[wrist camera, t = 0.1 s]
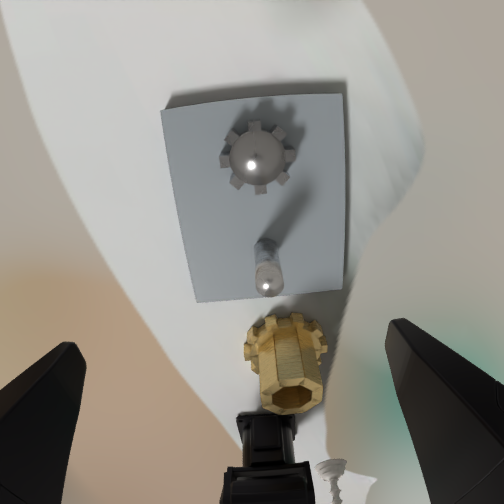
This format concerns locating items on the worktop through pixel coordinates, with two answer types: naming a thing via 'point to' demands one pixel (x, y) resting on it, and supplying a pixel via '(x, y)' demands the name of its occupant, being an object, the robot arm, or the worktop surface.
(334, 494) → the chalice
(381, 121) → the worktop surface
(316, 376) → the planet gear
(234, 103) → the plate
